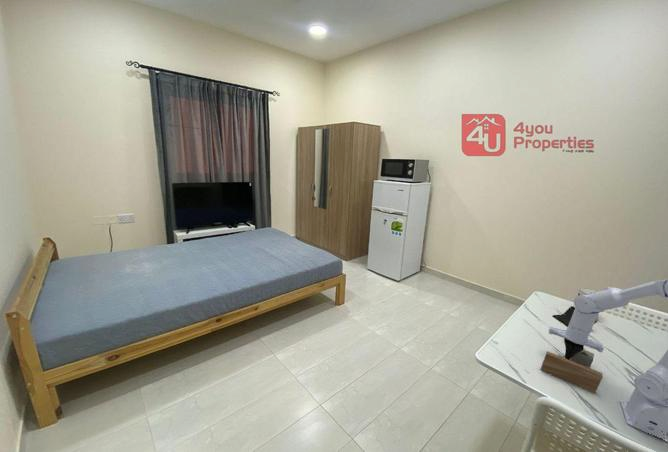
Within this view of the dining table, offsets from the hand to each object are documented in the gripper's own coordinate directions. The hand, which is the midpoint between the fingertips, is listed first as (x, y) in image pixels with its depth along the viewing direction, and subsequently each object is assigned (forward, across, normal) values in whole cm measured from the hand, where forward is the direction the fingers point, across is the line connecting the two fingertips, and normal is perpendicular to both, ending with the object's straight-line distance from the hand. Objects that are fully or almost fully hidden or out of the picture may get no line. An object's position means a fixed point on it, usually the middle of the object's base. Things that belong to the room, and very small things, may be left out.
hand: (567, 357), depth 99 cm
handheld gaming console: (+2, -4, -31) cm, 31 cm away
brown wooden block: (+1, 0, +11) cm, 11 cm away
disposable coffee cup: (+2, -9, -44) cm, 45 cm away
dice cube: (+2, -4, -1) cm, 4 cm away
